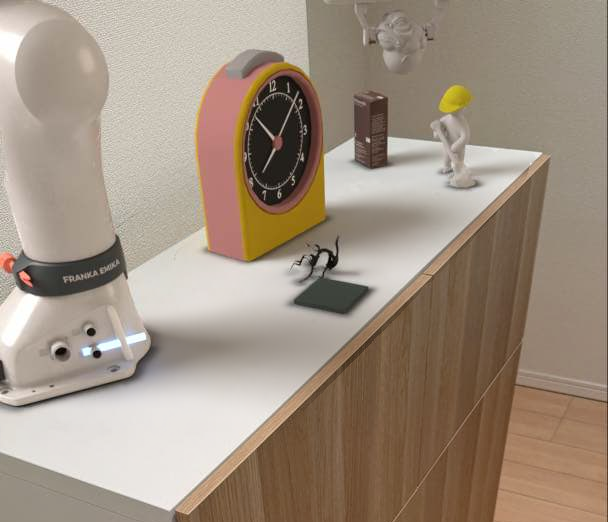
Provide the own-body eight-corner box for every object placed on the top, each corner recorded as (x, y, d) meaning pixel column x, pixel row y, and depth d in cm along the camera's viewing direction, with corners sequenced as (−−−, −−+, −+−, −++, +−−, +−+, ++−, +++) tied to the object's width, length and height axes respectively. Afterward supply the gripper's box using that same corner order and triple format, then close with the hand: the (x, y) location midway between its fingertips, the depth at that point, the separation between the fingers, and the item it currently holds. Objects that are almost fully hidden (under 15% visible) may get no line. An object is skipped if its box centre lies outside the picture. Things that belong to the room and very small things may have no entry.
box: (352, 161, 154) (352, 93, 146) (371, 157, 155) (372, 89, 147) (369, 169, 150) (369, 100, 142) (388, 164, 152) (390, 96, 143)
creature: (288, 290, 115) (339, 281, 113) (277, 256, 112) (330, 246, 109) (298, 268, 121) (347, 259, 118) (289, 234, 118) (339, 224, 115)
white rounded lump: (364, 75, 100) (364, 11, 96) (405, 66, 103) (407, 3, 99) (395, 82, 97) (396, 16, 92) (436, 73, 99) (440, 8, 95)
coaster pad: (343, 314, 107) (343, 309, 106) (293, 303, 110) (293, 299, 109) (368, 290, 112) (368, 286, 111) (320, 280, 115) (319, 276, 114)
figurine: (418, 183, 143) (423, 93, 133) (435, 168, 149) (440, 79, 139) (471, 189, 139) (480, 96, 129) (486, 173, 145) (495, 83, 135)
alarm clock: (248, 262, 121) (229, 70, 103) (206, 250, 125) (181, 63, 107) (327, 218, 133) (322, 39, 115) (286, 208, 137) (275, 34, 119)
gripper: (317, -90, 86) (321, 53, 96) (498, -101, 87) (484, 42, 96) (313, -94, 91) (317, 42, 100) (485, -105, 91) (473, 32, 101)
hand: (400, 42), depth 98 cm, fingers closed on white rounded lump, 6 cm apart
